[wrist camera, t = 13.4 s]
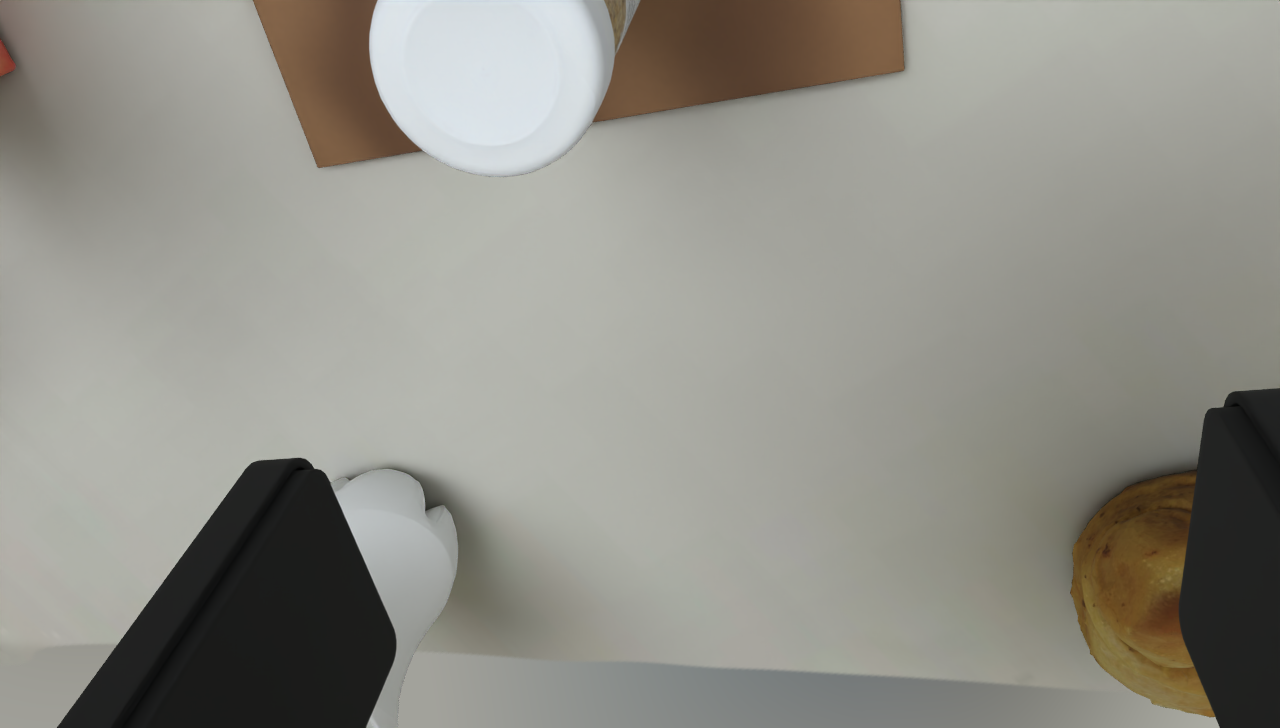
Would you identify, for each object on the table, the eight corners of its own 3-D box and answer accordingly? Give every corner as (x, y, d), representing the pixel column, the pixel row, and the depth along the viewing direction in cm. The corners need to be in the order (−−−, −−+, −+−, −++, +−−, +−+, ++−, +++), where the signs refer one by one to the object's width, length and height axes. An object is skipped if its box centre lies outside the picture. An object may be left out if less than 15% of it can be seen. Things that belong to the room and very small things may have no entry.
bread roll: (1437, 443, 37) (1588, 603, 30) (1353, 629, 42) (1466, 802, 35) (1071, 437, 38) (1136, 589, 31) (1033, 618, 43) (1082, 781, 37)
